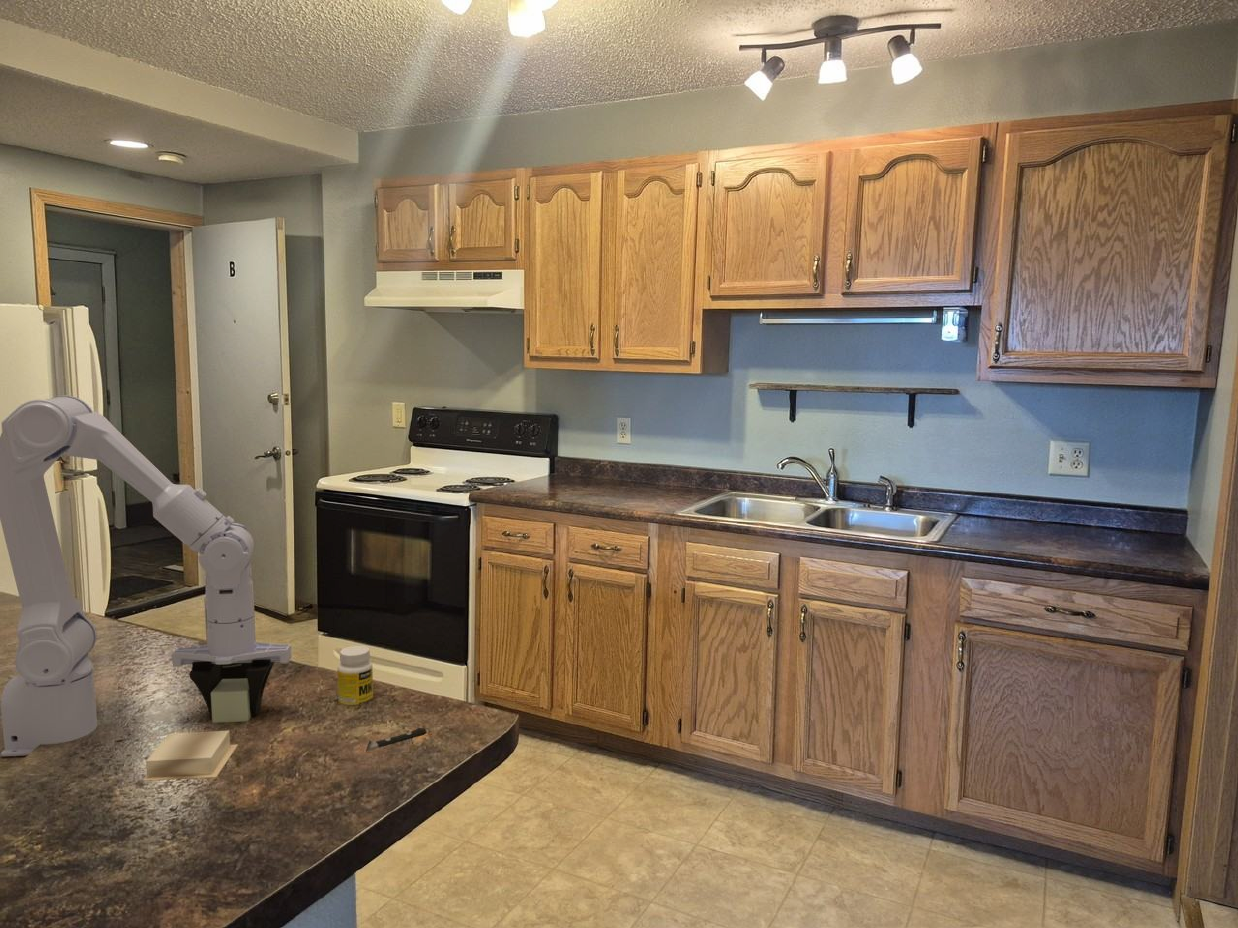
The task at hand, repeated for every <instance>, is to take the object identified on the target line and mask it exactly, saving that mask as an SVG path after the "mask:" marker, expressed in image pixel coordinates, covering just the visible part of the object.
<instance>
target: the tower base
mask: <svg viewBox="0 0 1238 928" xmlns="http://www.w3.org/2000/svg"><path fill="white" fill-rule="evenodd" d="M238 745H239V744H238V743H237V744H236V743H235V744H230V747H229V748H228V750H227V751H226V753H225V754H224V756H223V758H222V759H221V761H220V762H219V764H218V765H217V767H216V768H215V770H214V771H213V773H212V774H200V775H183V776H166V777H148V778H147V774H146V775H145V776H144V777H143V779H142V782H149V781H167V780H187V779H189V780H190V779H204V778H205V779H208V778H209V779H211V778H218V775H219V774H220V773H221V772H222V770H223V768H224V767H225V765H226V763H228V760H229V759H230V758H231V756H232V754H233V753H234V752H235V750H236V749H237V748H238Z"/></svg>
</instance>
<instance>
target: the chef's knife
mask: <svg viewBox="0 0 1238 928" xmlns="http://www.w3.org/2000/svg"><path fill="white" fill-rule="evenodd" d="M427 731H428V730H427V729H426V728H424V727H423V728H422V727H417V728H416V729H415V728H414V729H413V730H412V731H409V732H407V733H406V732H405V733H402V734H400V735H397V736H393V737H387V738H384V739H381V740H376V741H373V740H368V743H367V747H366V750H365V751H366V752H368V751H372V750H375V749H379V748H381V747H384V746H388V745H392V744H395V743H398V742H402V741H406V740H410V739H413V738H415V737H420V736H422V735H425V734H426V733H427Z"/></svg>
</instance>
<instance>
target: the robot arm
mask: <svg viewBox="0 0 1238 928" xmlns="http://www.w3.org/2000/svg"><path fill="white" fill-rule="evenodd" d="M64 453H65V455H66V456H69V457H76V458H82V459H88V460H96V461H98V462H101V464H103V465H104V466H105V467H106V468H108V469H109V470H111V472H113V473H114V474H116V475H117V476H118V477H119V478H121V480H123V481H124V482H125V483H127V484H128V485H130V486H131V487H132V488H133V489H135V490H136V491H137V492H139V494H140V495H142V496H143V497H145V498H146V499H147V500H149V502H151V504H152V516H153V518H154V519H155V520H156V521H158V523H160V524H161V525H162V526H163V527H165V529H167V530H168V531H169V532H170V533H172V534H173V536H175V537H176V538H178V539H179V540H180V541H181V543H183V544H184V545H185V546H186V547H188V548H189V549H190V550H191V551H192V552H193V551H194V552H196V553H198V554H199V555H198V557H197V558H198V562H199V563H198V564H199V565H200V567H201V568H202V570H204V572H205V581H206V585H205V588H204V589H205V594H206V596H205V597H206V607H207V628H208V645H207V644H203V645H196V646H187V647H177V648H176V649H175V650H174V651H173V652H172V653H171V655H172V656H171V658H172V667H173V668H174V667H175V668H179V667H182V666H184V665H188V666H189V665H191V670H190V672H189V673H188V674H189V678H190V680H191V681H192V682H193V683H194V684H195V686H196V687H197V688H198V690H199V692H200V694H201V696H202V698H203V700H204V702H205V704H206V707H207V710H208V712H209V717H210V719H212V706H211V692H212V691H213V690H214V688H215V687H216V686H217V685H218V684H219V683H220V668H221V664H231V663H250V662H252V665H251V666H249V668H248V669H247V670H246V676H247V680H248V685H249V692H250V714H251V717H257V716H258V715H259V713H260V711H261V706H262V700H263V695H264V691H265V687H266V684H267V681H268V679H269V676H270V674H271V672H272V669H273V667H274V665H275V663H277V662H279V663H280V664H289V662H290V661H291V659H292V644H279V643H269V642H259V641H257V640H256V639H255V637H256V619H255V617H256V616H255V617H254V614H255V599H254V598H255V597H254V595H255V594H254V581H253V579H252V576H253V570H252V565H251V564H252V563H251V562H250V558H251V556H252V555H253V552H254V547H255V543H254V538H253V536H252V534H251V533H250V531H248V529H247V527H246V526H245V525H243V524H240V523H237V522H235V519H234V518H233V517H231V515H228V516H227V517H226V516H225V515H224V514H223V513H221V512H220V511H219V510H218V509H217V507H215V506H213V504H211V503H210V502H209V501H208V500H207V499H206V498H205V497H206V496H207V492H205V491H204V490H203V489H202V488H201V487H199V488H197V489H194V488H193V487H192V486H191V485H190V484H175V483H173V482H171V480H170V479H168V478H167V477H166V475H164V473H162V472H161V471H160V470H159V469H158V467H156V466H155V465H154V464H153V463H152V462H151V461H150V460H149V459H148V458H147V457H146V456H145V455H143V453H142V452H140V451H139V450H138V448H137V447H135V446H134V445H133V444H132V443H131V442H130V441H129V440H128V439H127V438H126V437H125V436H124V435H123V434H122V433H121V432H120V431H119V430H118V429H117V428H116V427H115V426H114V425H113V423H111V422H110V420H108V419H107V418H106V417H105V416H104V415H102V414H101V413H99V412H98V411H93V410H92V407H90V405H89V404H88V403H87V402H85V401H84V400H83V399H81V398H78V397H76V396H72V395H65V394H64V395H57V396H54V397H51V398H44V399H33V400H29V401H26V402H24V403H22V404H20V405H19V406H18V407H17V408H16V409H15V410H13V411H12V412H11V413H10V414H9V415H8V416H7V417H6V418H5V419H3V420H2V421H1V434H0V524H1V529H2V533H3V536H4V540H5V544H6V545H5V546H6V548H7V553H8V556H9V562H10V564H11V565H10V566H11V568H12V572H13V577H14V581H15V585H16V587H17V591H18V598H19V602H20V605H21V611H20V616H19V620H18V623H17V627H16V636H17V639H18V644H17V645H18V647H17V649H16V653H15V657H14V665H15V668H16V671H17V672H18V674H19V675H16V676H14V677H12V678H11V679H10V680H9V681H8V682H7V683H6V685H5V687H4V688H3V692H2V696H1V700H0V701H1V702H0V711H1V724H2V732H3V734H2V735H3V745H4V749H3V750H2V751H1V752H0V755H1V757H17V756H19V757H20V756H29V755H30V754H31V753H33V751H35V750H36V749H37V748H38V747H39V746H40V745H57V744H58V745H59V744H64V743H68V742H71V741H75V740H78V739H81V738H83V737H86V736H88V735H90V734H91V733H92V732H94V731H95V730H96V729H97V727H98V717H97V703H96V702H97V701H96V691H95V689H96V687H95V677H94V665H93V663H92V661H91V660H90V657H89V653H90V652H91V651H92V649H93V648H94V647H95V646H96V645H95V644H96V643H97V639H98V636H97V635H98V634H97V629H96V627H95V625H94V623H93V622H92V621H91V620H90V619H89V618H88V617H87V615H86V614H85V612H84V610H83V605H82V603H81V601H80V600H78V599H77V597H75V596H74V595H73V594H72V591H71V586H70V583H69V579H68V574H67V570H66V565H65V561H64V556H63V554H62V553H63V551H62V547H61V545H60V544H61V543H60V541H59V536H58V532H57V527H56V524H55V519H54V515H53V510H52V507H51V503H50V498H49V494H48V490H47V486H46V482H45V473H46V472H47V471H49V469H50V468H51V467H52V466H53V465H54V464H55V462H57V460H58V459H59V458H61V456H62V455H63V454H64Z"/></svg>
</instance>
